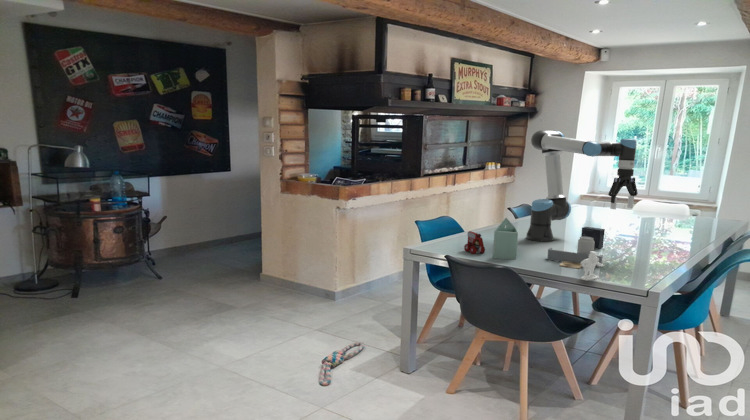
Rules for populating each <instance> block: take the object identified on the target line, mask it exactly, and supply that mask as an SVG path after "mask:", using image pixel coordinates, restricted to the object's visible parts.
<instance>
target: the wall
mask: <svg viewBox="0 0 750 420" xmlns="http://www.w3.org/2000/svg"><path fill="white" fill-rule="evenodd" d="M603 257H604V256H603V254H599V255H597V258H599V261H598V262H599V263H601V264H603ZM587 258H589V254H581V253H577V252H572V251H567V250H565V251H564V250H560V249H559V250H558V249H553V248H552V247H549V248H548V249H547V259H546V260H548V261H558V262H562V261H568V262H574V263H581V262H582V261H583V260H584V259H587ZM596 266H598V265H596ZM596 266H595V267H596ZM597 268H602V266H598V267H597Z"/></svg>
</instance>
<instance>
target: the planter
mask: <svg viewBox="0 0 750 420" xmlns="http://www.w3.org/2000/svg"><path fill="white" fill-rule="evenodd" d="M518 232H519V231H518V229H517V227H516V226H515V225H514V224H513V223H512V222H511V221H510V220H509V218H507V217H505V218H504V219H503V220H502V221H501V223H500V224H499V225H498V227H496V229H495V230H494V233H493V247H492V248H493V251H492V259H504V260H505V259H506V260H516V259H517V250H518V249H517V247H518V236H519V235H518V234H519V233H518Z"/></svg>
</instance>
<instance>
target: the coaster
mask: <svg viewBox="0 0 750 420" xmlns="http://www.w3.org/2000/svg"><path fill="white" fill-rule="evenodd" d="M559 267H563V268H569V267H570V268H569V269H575V268H576V269H577V270H581V269H582V268H583V266H582V265H581V263H574V262H568V261H563V262H562V261H561V262H560V264H559Z"/></svg>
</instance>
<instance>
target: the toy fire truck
mask: <svg viewBox="0 0 750 420" xmlns="http://www.w3.org/2000/svg"><path fill="white" fill-rule="evenodd" d="M463 247H464V251H465V252H466V253H469V252H470V254H472V255H475V254H477V253H480V254H484V253H485V252H486V248H485V245H484V239H483V237H482V234H481V233H477V232H474V231H472V230H471V231H467V243H465V244H464V246H463Z"/></svg>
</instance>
